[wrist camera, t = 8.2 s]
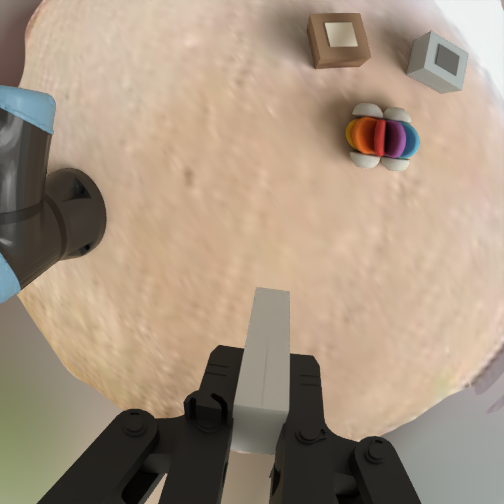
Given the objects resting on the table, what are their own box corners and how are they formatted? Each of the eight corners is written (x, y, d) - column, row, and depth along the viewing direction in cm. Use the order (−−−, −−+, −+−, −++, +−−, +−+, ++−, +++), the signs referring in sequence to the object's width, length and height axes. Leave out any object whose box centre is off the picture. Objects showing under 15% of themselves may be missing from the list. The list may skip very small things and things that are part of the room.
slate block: (405, 74, 31) (424, 67, 26) (413, 41, 29) (431, 30, 23) (440, 93, 31) (462, 90, 26) (447, 60, 29) (469, 53, 23)
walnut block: (315, 69, 33) (320, 58, 27) (306, 30, 31) (310, 13, 25) (358, 67, 32) (371, 56, 26) (350, 28, 30) (360, 12, 24)
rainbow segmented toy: (343, 102, 34) (356, 96, 28) (410, 112, 33) (433, 110, 27) (341, 163, 37) (353, 171, 31) (406, 171, 37) (428, 180, 30)
